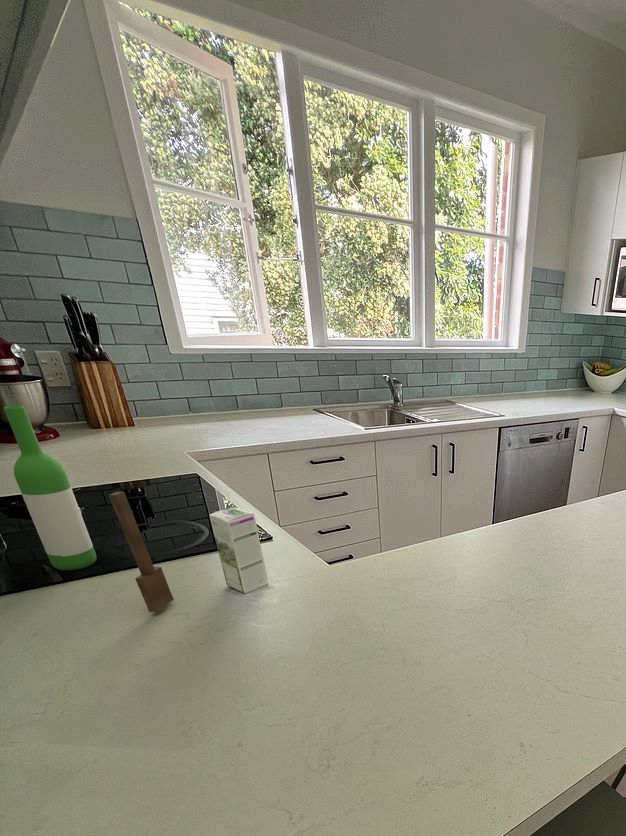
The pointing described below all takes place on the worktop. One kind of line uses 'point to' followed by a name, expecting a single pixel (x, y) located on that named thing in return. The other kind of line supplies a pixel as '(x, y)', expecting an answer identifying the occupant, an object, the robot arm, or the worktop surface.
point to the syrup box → (239, 549)
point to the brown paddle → (142, 557)
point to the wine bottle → (49, 499)
